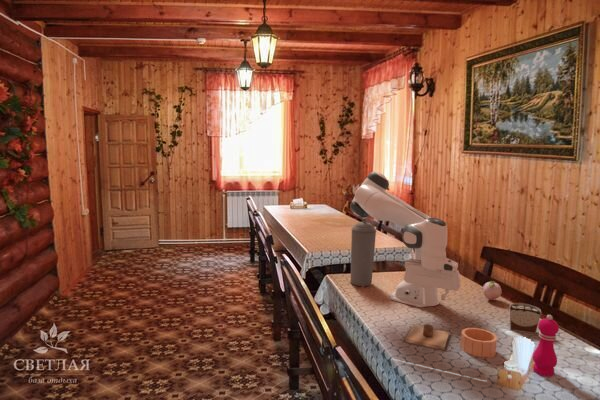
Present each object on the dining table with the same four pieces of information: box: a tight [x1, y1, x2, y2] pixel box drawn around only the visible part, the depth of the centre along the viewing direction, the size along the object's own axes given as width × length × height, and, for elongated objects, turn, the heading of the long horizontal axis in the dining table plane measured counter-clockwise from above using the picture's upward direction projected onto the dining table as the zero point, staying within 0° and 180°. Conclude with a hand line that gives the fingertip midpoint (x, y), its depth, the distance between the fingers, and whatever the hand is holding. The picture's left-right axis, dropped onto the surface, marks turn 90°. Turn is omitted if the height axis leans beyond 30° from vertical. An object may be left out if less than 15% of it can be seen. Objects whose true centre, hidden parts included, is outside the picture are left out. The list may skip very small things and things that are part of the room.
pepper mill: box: [532, 314, 560, 377], centre depth 152 cm, size 7×7×20 cm
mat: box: [402, 326, 453, 353], centre depth 175 cm, size 16×16×1 cm
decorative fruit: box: [482, 280, 503, 301], centre depth 220 cm, size 9×8×10 cm
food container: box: [507, 302, 543, 335], centre depth 187 cm, size 12×6×10 cm, turn 71°
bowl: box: [459, 327, 498, 359], centre depth 167 cm, size 12×12×6 cm
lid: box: [405, 324, 450, 350], centre depth 174 cm, size 14×14×5 cm
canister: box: [350, 217, 377, 287], centre depth 237 cm, size 13×13×35 cm
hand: (430, 297), depth 172 cm, fingers open, 8 cm apart
